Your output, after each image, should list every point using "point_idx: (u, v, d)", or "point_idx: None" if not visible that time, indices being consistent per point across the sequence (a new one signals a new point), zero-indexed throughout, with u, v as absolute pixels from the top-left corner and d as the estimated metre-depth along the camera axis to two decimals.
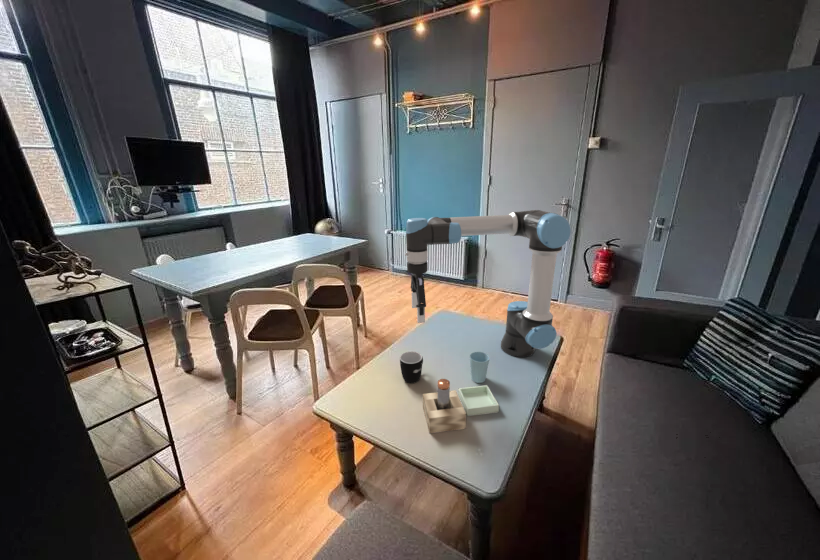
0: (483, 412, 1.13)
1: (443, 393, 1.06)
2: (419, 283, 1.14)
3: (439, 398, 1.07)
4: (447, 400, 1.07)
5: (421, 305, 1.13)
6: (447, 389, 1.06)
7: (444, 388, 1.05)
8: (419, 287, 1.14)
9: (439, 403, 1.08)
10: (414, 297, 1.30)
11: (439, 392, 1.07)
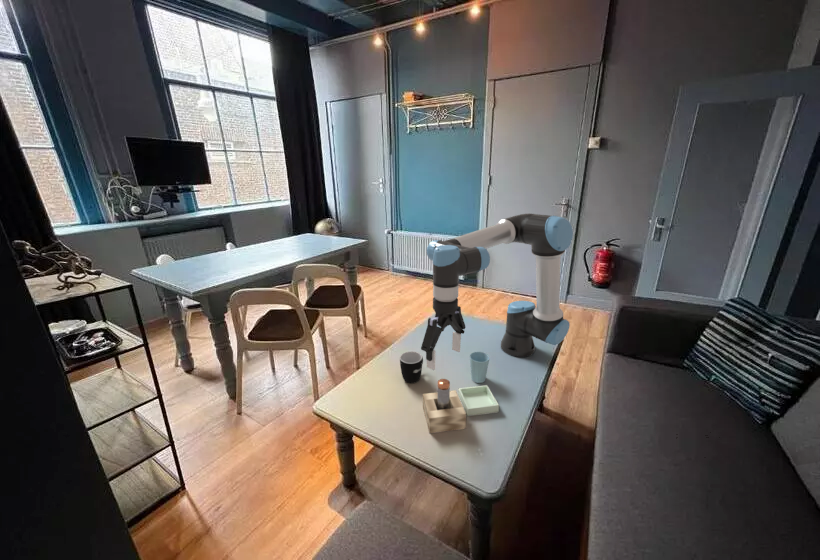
0: (483, 412, 1.13)
1: (443, 393, 1.06)
2: (429, 323, 0.95)
3: (439, 398, 1.07)
4: (447, 400, 1.07)
5: (423, 348, 0.95)
6: (447, 389, 1.06)
7: (444, 388, 1.05)
8: (428, 327, 0.95)
9: (439, 403, 1.08)
10: (454, 338, 1.08)
11: (439, 392, 1.07)
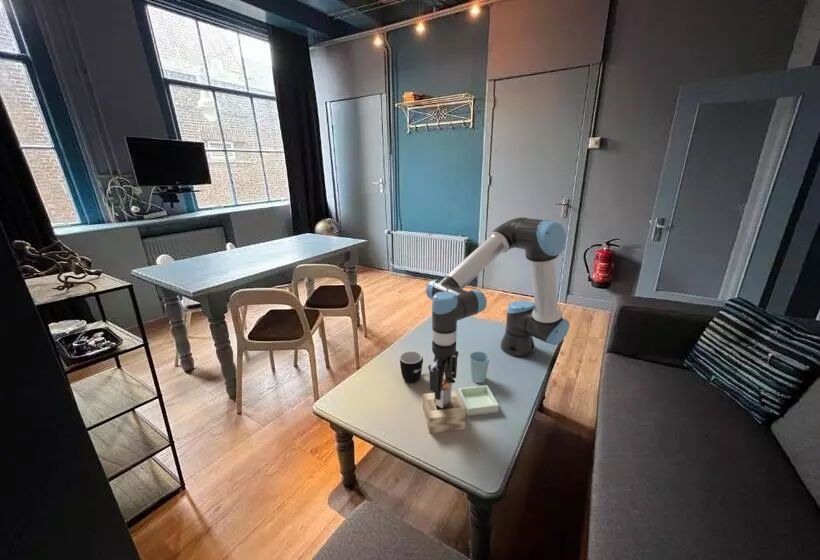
0: (483, 412, 1.13)
1: (443, 393, 1.06)
2: (430, 370, 1.00)
3: None
4: (447, 400, 1.07)
5: (432, 389, 1.03)
6: (447, 389, 1.06)
7: (444, 388, 1.05)
8: (431, 373, 1.01)
9: None
10: None
11: None
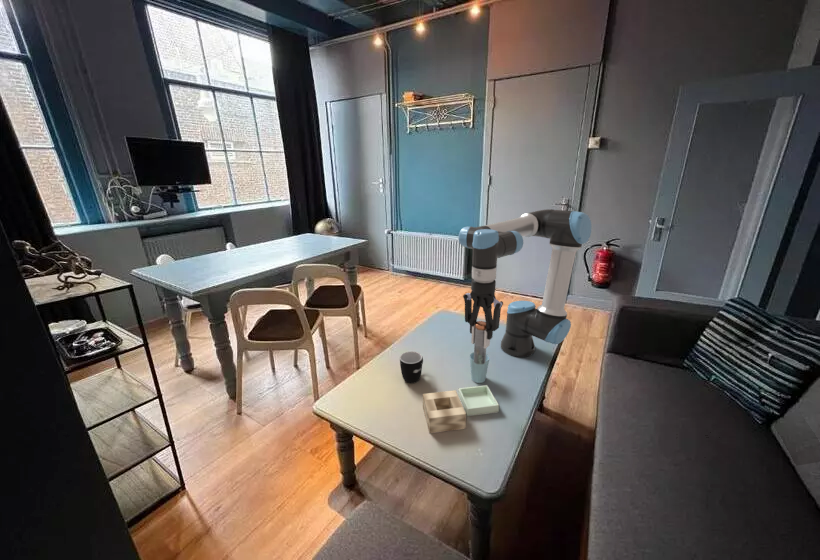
0: (483, 412, 1.13)
1: None
2: (499, 307, 1.01)
3: None
4: None
5: (496, 328, 1.04)
6: None
7: None
8: (498, 311, 1.01)
9: None
10: None
11: None
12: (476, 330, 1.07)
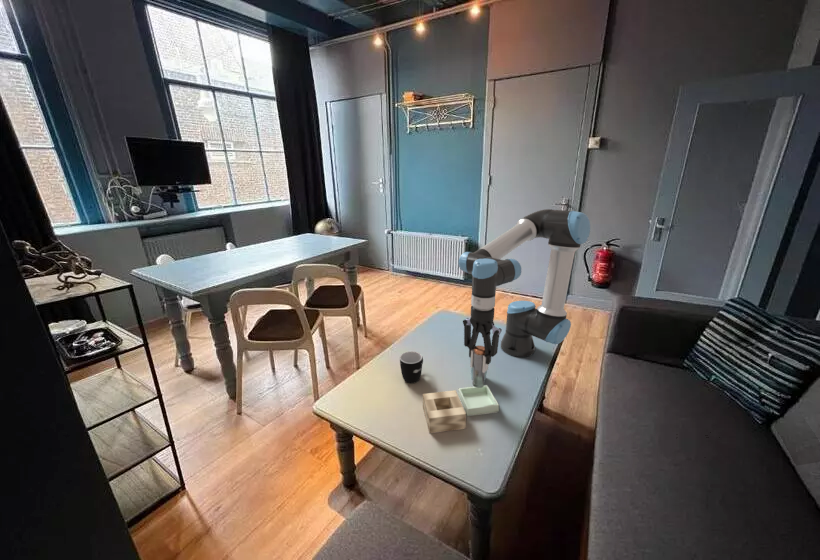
0: (483, 412, 1.13)
1: None
2: (498, 334, 1.04)
3: None
4: None
5: (494, 353, 1.07)
6: None
7: None
8: (496, 338, 1.05)
9: None
10: None
11: None
12: (475, 355, 1.10)
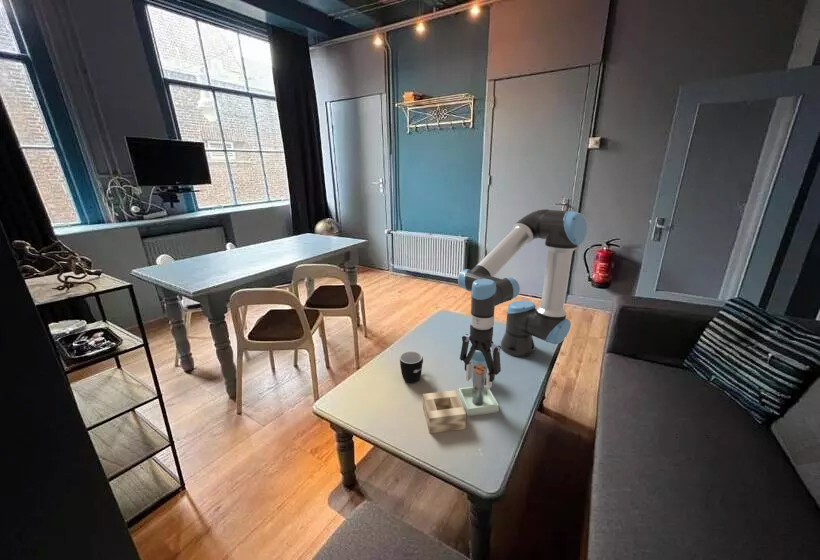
0: (483, 412, 1.13)
1: None
2: (497, 351, 1.06)
3: (483, 383, 1.14)
4: None
5: (498, 372, 1.08)
6: None
7: None
8: (497, 355, 1.06)
9: (483, 387, 1.14)
10: (469, 369, 1.16)
11: (483, 377, 1.13)
12: (474, 374, 1.13)
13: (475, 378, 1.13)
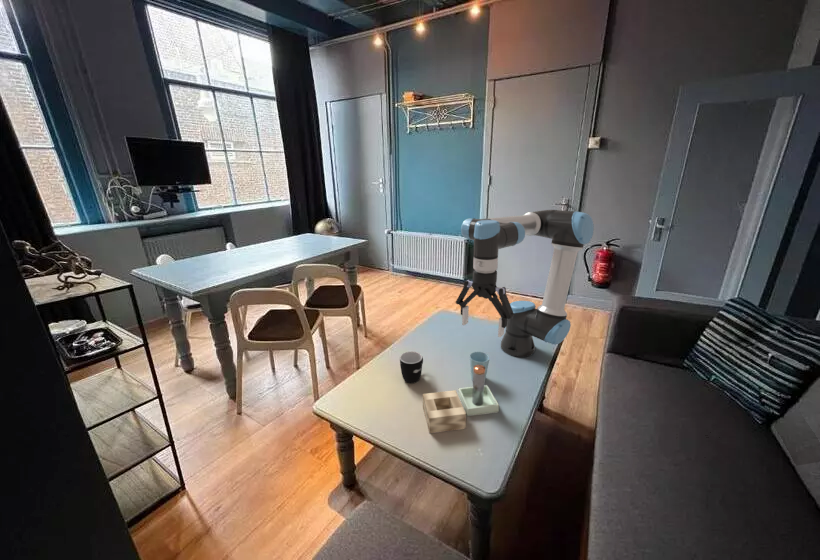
0: (483, 412, 1.13)
1: (484, 375, 1.14)
2: (503, 292, 1.01)
3: (483, 383, 1.14)
4: None
5: (511, 315, 1.01)
6: None
7: None
8: (504, 297, 1.01)
9: (483, 387, 1.14)
10: (465, 313, 1.13)
11: (483, 377, 1.13)
12: (474, 374, 1.13)
13: (475, 378, 1.13)
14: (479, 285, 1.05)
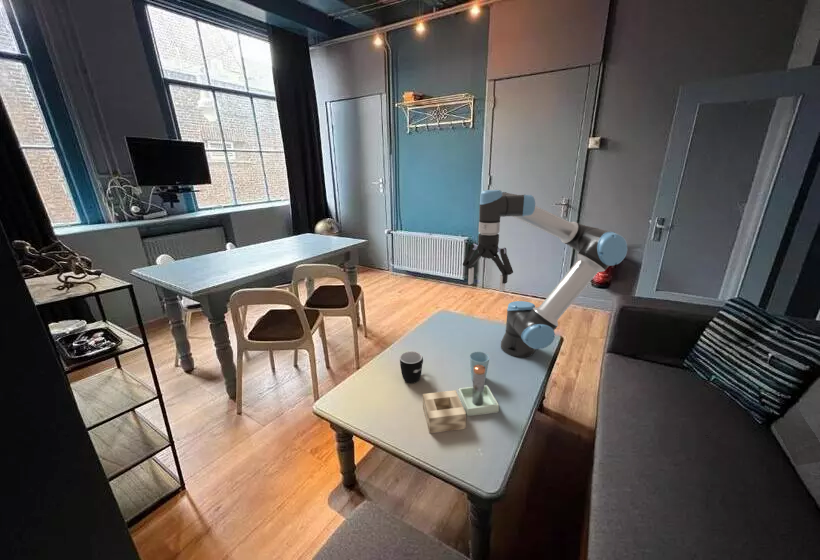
0: (483, 412, 1.13)
1: (484, 375, 1.14)
2: (504, 252, 1.18)
3: (483, 383, 1.14)
4: None
5: (511, 272, 1.18)
6: None
7: None
8: (504, 256, 1.18)
9: (483, 387, 1.14)
10: (471, 273, 1.29)
11: (483, 377, 1.13)
12: (474, 374, 1.13)
13: (475, 378, 1.13)
14: (483, 247, 1.22)
